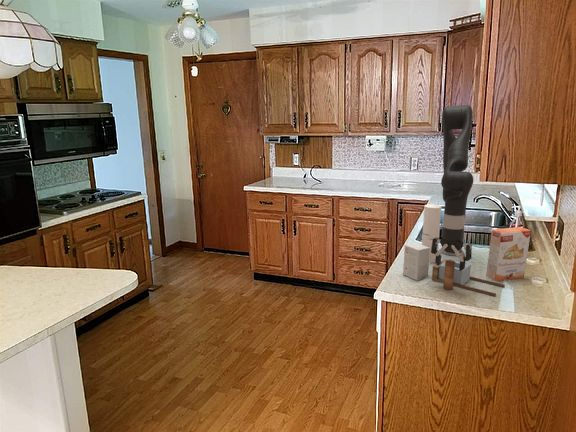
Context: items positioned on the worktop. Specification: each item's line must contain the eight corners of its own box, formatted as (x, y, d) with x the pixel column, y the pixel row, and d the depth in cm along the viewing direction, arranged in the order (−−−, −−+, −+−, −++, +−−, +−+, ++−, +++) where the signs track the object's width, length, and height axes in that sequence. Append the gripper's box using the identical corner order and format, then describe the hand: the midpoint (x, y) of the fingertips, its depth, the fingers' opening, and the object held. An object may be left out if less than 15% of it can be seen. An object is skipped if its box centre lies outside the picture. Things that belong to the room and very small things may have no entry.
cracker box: (495, 284, 176) (501, 233, 170) (485, 278, 181) (490, 228, 176) (525, 280, 179) (531, 230, 174) (513, 274, 185) (520, 226, 180)
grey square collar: (447, 274, 183) (448, 259, 181) (469, 279, 177) (471, 264, 175) (438, 280, 176) (439, 265, 175) (460, 286, 170) (462, 270, 169)
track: (442, 274, 185) (444, 258, 183) (504, 290, 170) (506, 272, 168) (431, 282, 177) (432, 266, 175) (494, 299, 162) (497, 281, 160)
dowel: (445, 288, 172) (447, 259, 169) (453, 290, 170) (456, 261, 167) (441, 291, 169) (444, 261, 166) (450, 293, 167) (453, 263, 164)
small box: (428, 277, 182) (430, 247, 179) (416, 281, 179) (418, 250, 176) (413, 271, 189) (415, 242, 186) (402, 274, 186) (404, 244, 183)
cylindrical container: (424, 256, 208) (428, 203, 201) (439, 259, 203) (444, 205, 197) (418, 260, 202) (421, 206, 196) (433, 263, 198) (437, 208, 192)
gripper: (476, 227, 161) (472, 269, 165) (438, 220, 170) (435, 260, 174) (469, 231, 156) (465, 275, 160) (430, 224, 165) (427, 266, 169)
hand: (449, 267), depth 167 cm, fingers open, 8 cm apart
